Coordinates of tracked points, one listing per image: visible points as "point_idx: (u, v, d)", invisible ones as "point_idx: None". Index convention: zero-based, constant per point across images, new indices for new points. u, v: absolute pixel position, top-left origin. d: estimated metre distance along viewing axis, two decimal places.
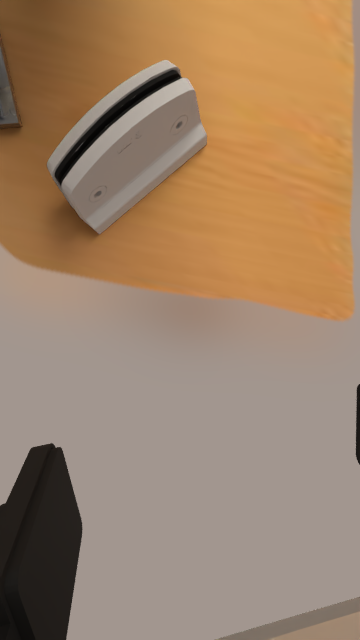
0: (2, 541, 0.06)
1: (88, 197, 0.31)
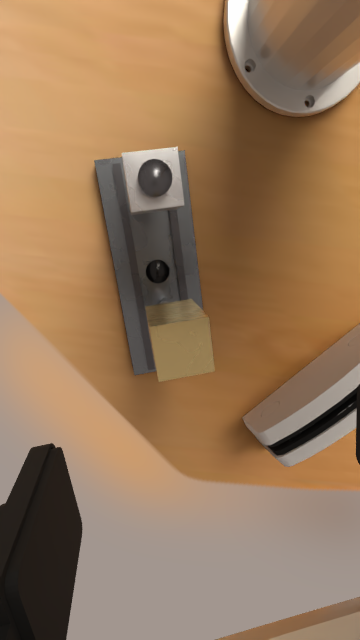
0: (2, 541, 0.06)
1: None
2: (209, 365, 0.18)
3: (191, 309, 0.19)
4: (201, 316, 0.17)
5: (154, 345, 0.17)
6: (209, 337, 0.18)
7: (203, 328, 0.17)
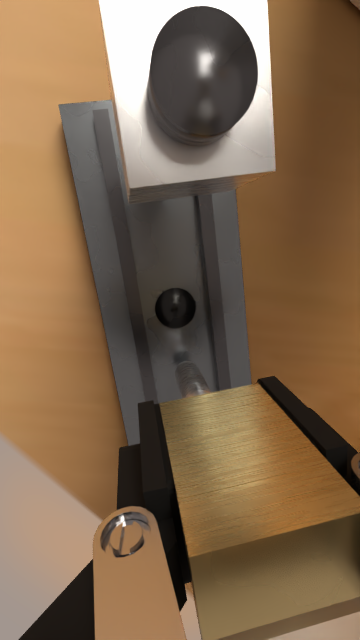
0: (153, 461, 0.07)
1: None
2: None
3: (283, 440, 0.08)
4: (341, 499, 0.06)
5: (203, 604, 0.05)
6: None
7: (352, 541, 0.06)
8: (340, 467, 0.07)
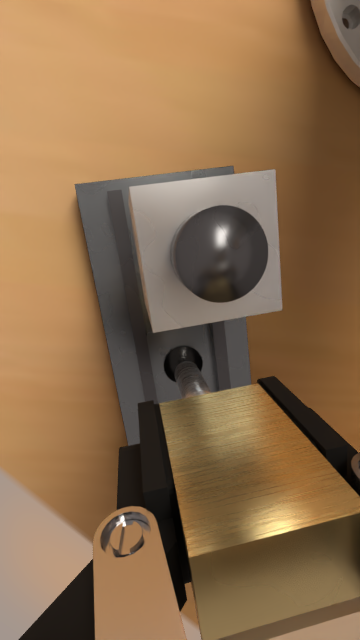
0: (153, 461, 0.07)
1: None
2: None
3: (283, 440, 0.08)
4: (341, 499, 0.06)
5: (203, 604, 0.05)
6: None
7: (351, 540, 0.06)
8: (340, 467, 0.07)
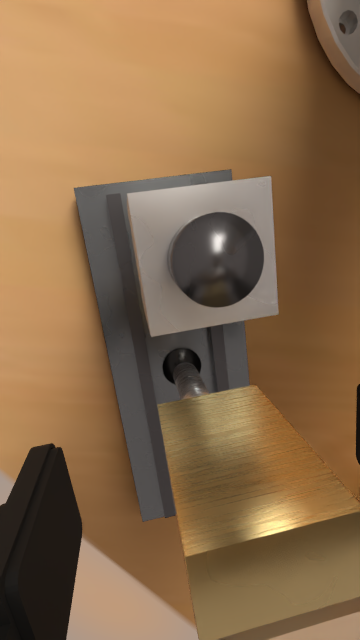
0: (2, 541, 0.06)
1: None
2: None
3: (279, 441, 0.08)
4: (336, 499, 0.06)
5: (200, 603, 0.06)
6: None
7: (345, 540, 0.06)
8: None
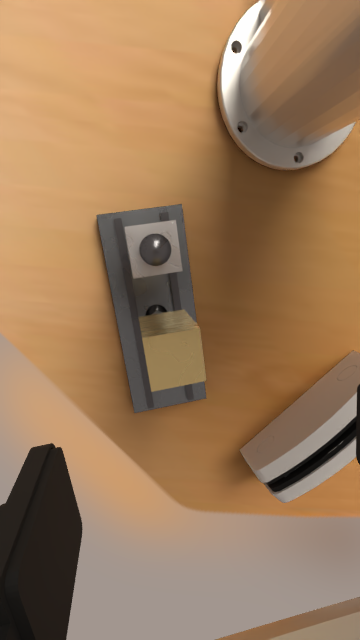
0: (2, 541, 0.06)
1: None
2: (201, 375, 0.18)
3: (183, 320, 0.20)
4: (192, 327, 0.18)
5: (147, 356, 0.18)
6: (200, 347, 0.18)
7: (194, 338, 0.18)
8: None
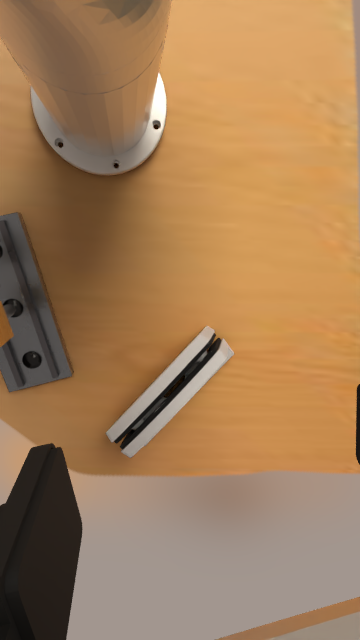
0: (2, 541, 0.06)
1: None
2: None
3: None
4: None
5: None
6: None
7: None
8: None
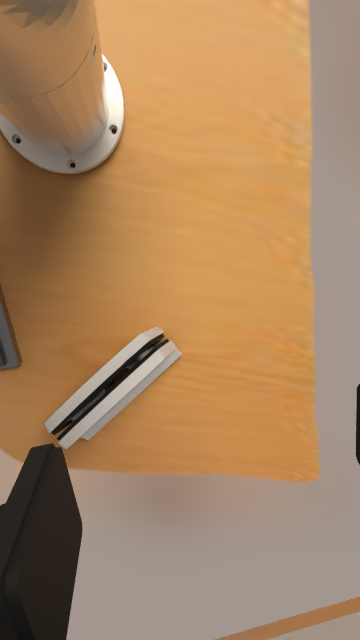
0: (2, 541, 0.06)
1: None
2: None
3: None
4: None
5: None
6: None
7: None
8: None
